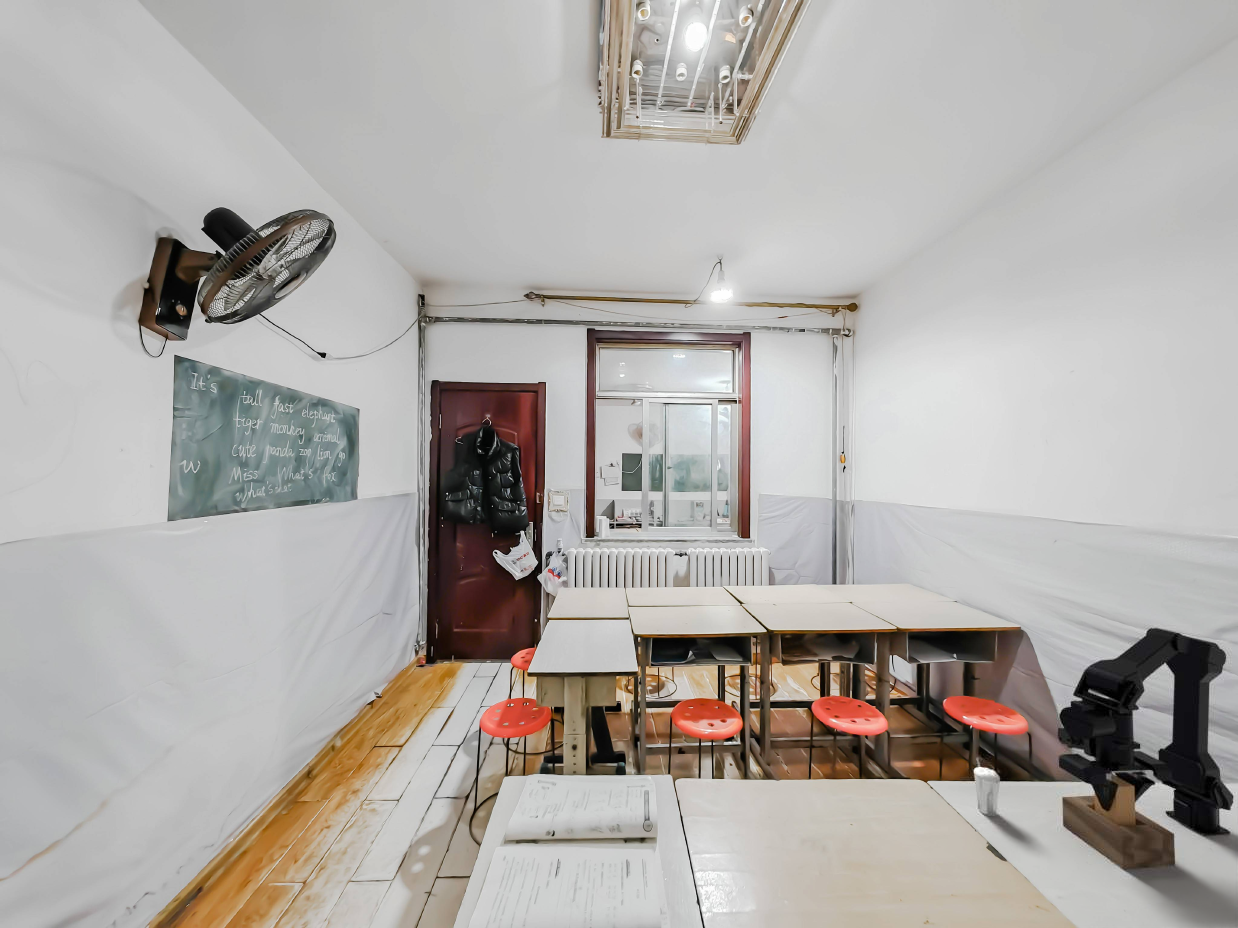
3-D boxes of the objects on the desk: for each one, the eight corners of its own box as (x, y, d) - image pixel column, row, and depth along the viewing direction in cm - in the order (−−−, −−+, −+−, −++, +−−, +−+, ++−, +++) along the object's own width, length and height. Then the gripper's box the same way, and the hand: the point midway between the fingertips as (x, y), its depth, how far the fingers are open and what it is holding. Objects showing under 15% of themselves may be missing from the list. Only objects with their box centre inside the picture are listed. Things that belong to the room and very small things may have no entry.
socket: (1110, 822, 100) (1109, 794, 100) (1175, 865, 89) (1174, 833, 89) (1063, 825, 99) (1062, 796, 99) (1122, 868, 88) (1121, 836, 88)
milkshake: (988, 802, 106) (987, 758, 106) (1005, 819, 101) (1004, 772, 101) (967, 801, 106) (966, 756, 107) (983, 818, 101) (982, 771, 101)
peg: (1112, 812, 96) (1111, 773, 97) (1135, 826, 92) (1134, 785, 93) (1095, 813, 96) (1093, 774, 96) (1117, 827, 92) (1116, 786, 92)
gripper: (1109, 710, 103) (1112, 781, 103) (1032, 712, 102) (1034, 785, 101) (1173, 737, 92) (1176, 817, 92) (1087, 741, 91) (1089, 822, 90)
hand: (1115, 809), depth 94 cm, fingers closed on peg, 4 cm apart
